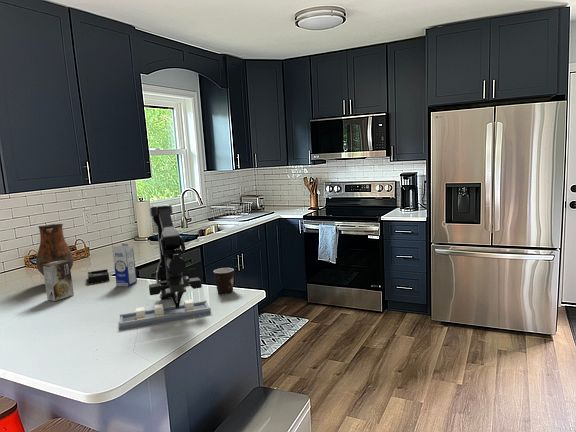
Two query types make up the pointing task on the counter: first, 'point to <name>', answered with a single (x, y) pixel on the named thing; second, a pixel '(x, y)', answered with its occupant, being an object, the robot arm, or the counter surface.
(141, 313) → the beige block
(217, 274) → the coffee mug
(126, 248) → the milk carton
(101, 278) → the battery charger
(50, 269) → the coffee box
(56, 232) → the pitcher
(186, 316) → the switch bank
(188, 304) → the cream block
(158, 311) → the off-white rectangular block
